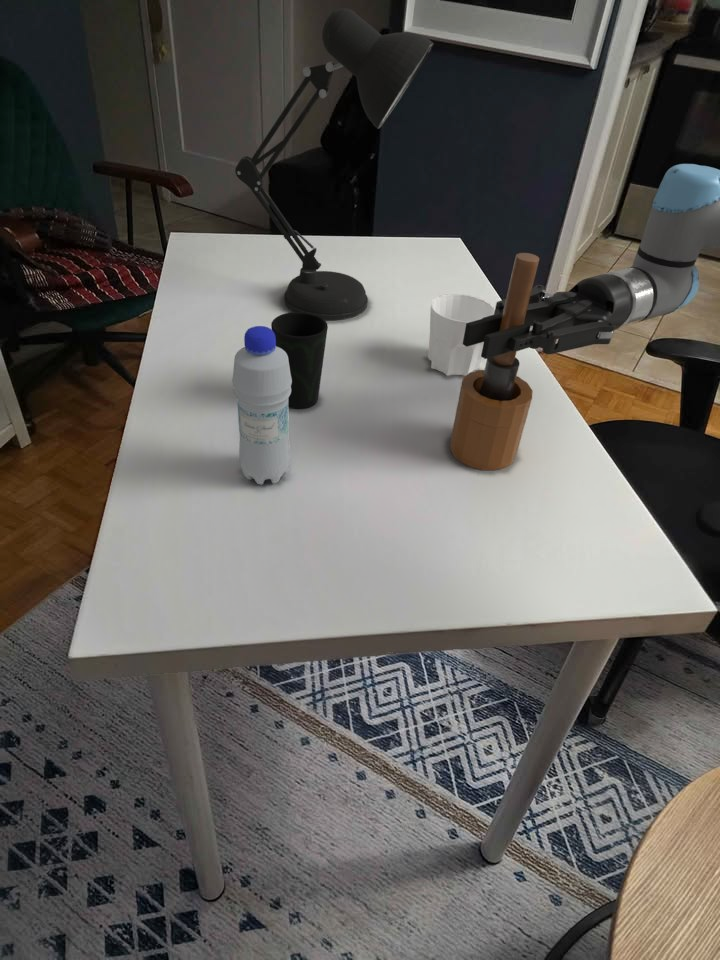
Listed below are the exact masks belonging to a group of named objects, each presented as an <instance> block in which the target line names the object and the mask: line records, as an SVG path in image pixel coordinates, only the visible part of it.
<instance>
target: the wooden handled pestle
mask: <svg viewBox="0 0 720 960" xmlns="http://www.w3.org/2000/svg"><path fill="white" fill-rule="evenodd" d="M539 263H540V257H539V256H538V255H536V254H534V253H529V252H519V253H516V254H515V258H514V262H513V266H512V270H511V276H510V280H509V284H508V289H507V292H506V298H505V299H506V302H505V307H504V311H503V316H502V320H501V325H500V329H499V331H502V330H505V329H509V328H512V327H516V326H519V325H523V324H524V319H525V315H526V311H527V307H528V303H529V299H530V295H531V291H532V289H533V288H534V287H533V286H534V283H535V278H536V275H537V271H538V267H539ZM517 352H518V351H510V352H507V353H504V354H500V355H497V356H494V357H491V358H488V359H486V361H485V365H484V367H485V368H484V370H485V371H484V375H483V380H482V385H481V389H480V395H482V396H484V397H486V398H489V399H492V400H498V401H510V399H511V395H512V391H513V387H514V384H515V380H516V376H518V372H519V368H520V365H521V363H520V360H519V358H517V357H516V356H517Z"/></svg>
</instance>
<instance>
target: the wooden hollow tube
mask: <svg viewBox="0 0 720 960" xmlns="http://www.w3.org/2000/svg"><path fill="white" fill-rule="evenodd" d="M484 371H485V369H478V370H473V371H472V372H470V373H469V374H468V375H466V376H464V377H463V378H462V380H461V383H460V390H459V395H458V400H457V405H456V409H455V416H454V420H453V426H452V431H451V437H450V442H449V449H450V452H451V454H452V455H453V457H454V458H455V459H456V460H458V461H459V462H460V463H462V464H464V465H465V466H468V467H470V468H472V469H476V470H480V471H481V470H482V471H498V470H502V469H505V468H508V467H509V466H510V465H511V464H513V462H514V461H515V459H516V456H517V453H518V450H519V447H520V443H521V441H522V440H521V439H522V436H523V432H524V430H525V429H524V428H525V426H526V420H527V418H528V414H529V411H530V408H531V403H532V401H533V389H532V388H531V386H530V385H529V383H528V382H527V381H525V380H524V379H522V378H521V377H519V376H518V375H517V376H516V380H515V384H514V387H513V391H512V395H511V399H510V401H498V400H492V399H489V398H486V397H484V396H482V395H480V389H481V385H482V380H483V375H484Z"/></svg>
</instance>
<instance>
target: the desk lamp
mask: <svg viewBox="0 0 720 960" xmlns="http://www.w3.org/2000/svg"><path fill="white" fill-rule="evenodd" d="M321 40H322V43H323V47H324V49H325V50H326V52H327V53H328V54H329V55H330V56H331V57H332V58H333V59H335V60H336V61H337V62H338V63H335V62H334V61H331V60H330V61H329V62H326V63H324V64H320V65H315V66H310V65H308V66H305V67H304V68H303V69H302V74H303V76H304V78H303V80H302V81H301V83H300V84H299V86H298V88H297V89H296V90H295V92H294V94H293V95H292V96H291V98H290V99H289V101H288V103H287V104H286V106H285V108H283V111H282V112H280V115H279V116H278V118H277V119H276V121H275V122H274V123H273V125H272V127H271V128H270V129H269V132H268V133H267V134H266V135H265V138H264V139H263V140H262V142H261V143H260V145H259V147H258V148H257V149H256V151H255V152H254V154H253V156H248V155H247V156H243V157H241V159H240V160H239V161H238V163H237V164H236V166H235V170H234V171H235V175H236V177H237V178H238V179H239V180H240V181H241V182H242V183H243V184H244V185H246V186H247V187H248V188H249V189H250V190H251V192H252V193H253V194H254V196H255V197H256V199H257V200H258V201H259V203H260V204H261V206H262V208H263V209H264V210H265V211H266V213H267V214H268V215H269V217H270V219H271V220H272V222H274V224H275V225H276V227H277V228H278V230H279V231H280V232H281V234H282V236H283V238H284V239H285V240H286V241H287V242H288V244H289V245H290V247H291V248H292V250H293V251H294V253H295V254H296V255H297V257H298V259H300V261H301V266H302V267H301V268H300V270H299V275H297V276H295V277H293V278H292V279H291V280H290V282H289V283H288V285H287V288H286V290H285V292H284V299H283V300H284V301H283V302H284V304H285V306H286V307H287V309H288V310H289V311H290V312H306V313H311V314H314V315H317V316H319V317H321V318H323V319H324V320H325V321H343V320H348V319H352V318H355V317H357V316H359V315H361V314H363V313H364V312H365V311H366V310H367V308H368V305H369V302H368V301H369V299H368V298H369V297H368V295H367V293H366V289H365V287H364V285H363V283H362V282H361V281H360V280H358V279H356V278H355V277H353V276H351V275H348V274H345V273H342V272H337V271H328V270H319V269H320V268H321V267H322V263H321V262H319V261H318V259H317V258H316V257H315V256H316V253H317V249H318V248H317V247H315V246H314V245H313V244H311V242H309V241H308V240H307V239H306V237H304V236H303V235H302V234H300V232H299V231H297V230H295V229H293V228H292V226H291V225H290V223H289V221H288V220H287V219H286V217H285V216H284V214H283V213H282V212H281V211H280V209H279V208H278V206H277V205H276V203H275V201H273V199H272V198H271V196H270V194H269V193H268V192H267V190H266V189H265V187H264V180H263V179H264V178H265V176H266V175H267V173H268V172H269V171H270V169H271V168H272V166H273V165H274V163H275V162H276V161H277V159H278V158H279V156H280V155H281V153H282V152H283V150H284V149H285V147H286V146H287V145H288V143H289V142H290V140H291V139H292V137H293V136H294V135H295V133H296V132H297V130H298V129H299V127H300V126H301V125H302V123H303V121H304V120H305V119H306V117H307V116H308V114H309V113H310V112H311V110H312V109H313V107H314V106H315V104H316V102H317V101H318V99H319V98H321V99H325V98H326V97H328V96H329V88H330V85H331V80H332V77H333V74H334V73H333V72H334V71H336V70H338V69H341V68H343V67H344V68H345V69H346V70H347V71H348V72H349V73H351V74H352V75H353V76H354V77H355V78H356V79H355V80H356V84H357V91H358V95H359V99H360V103H361V107H362V109H363V110H364V113H365V115H366V116H367V118H368V120H369V121H370V122H371V123H372V125H373V126H374V127H375V128H376V129H377V130H380V128H381V127H383V124H384V123H385V122H386V120H387V119H388V118H389V117H390V115H391V113H392V112H393V111H394V109H395V108H396V106H397V104H398V103H399V102H400V100H401V99H402V97H403V96H404V94H405V92H406V91H407V89H408V87H409V86H410V85H411V83H412V81H413V80H414V78H415V77H416V75H417V73H418V72H419V70H420V69H421V67H422V65H423V64H424V62H425V60H426V59H427V58H428V55H429V54H430V52H431V50H432V48H433V46H434V42H433V41H432V40H430V39H429V38H427V37H425V36H423V35H421V34H418V33H414V32H408V31H406V32H393V33H387V34H386V33H385V34H381V33H380V32H379V31H377V30H376V28H374V27H373V26H372V25H370V24H369V23H368V22H366V21H365V20H364V19H363V18H362V17H361V16H359V15H358V14H357V13H356V12H355V11H353V10H352V9H349V8H346V7H344V8H343V7H342V8H337V9H335V10H333V11H332V12H331V13H330V14H328V16H327V18H326V19H325V21H324V24H323V27H322V31H321ZM309 83H311V84H312V85H313V87H314V88H315V89H316V91H315V92H314V94H313V96H312V97H311V98H310V100H309V102H308V103H307V104H306V105H305V107H304V108H303V110H302V111H301V113H300V114H299V116H298V117H297V119H296V120H295V122H293V123H294V124H293V125H292V126H291V127H290V129H289V131H288V132H287V134H286V135H285V137H284V138H283V139H282V140H281V141H280V142H278V143H277V144H276V145H274V146H273V147H272V148H270V149H268V151H266V152H265V153H263V152H264V151H265V149H266V147H267V146H268V144H269V143H270V141H271V140H272V139H273V137H274V136H275V134H276V133H277V131H278V129H279V128H280V126H281V125H282V123H283V122H284V121H285V119H286V118H287V116H288V115H289V113H290V112H291V110H292V108H294V105H295V104H296V102H297V101H298V100H299V98H300V97H301V95H302V93H303V92H304V90H305V89H306V87H307V86H308V84H309ZM271 155H272V156H271ZM270 156H271V157H270ZM269 157H270V159H269V160H268V162H266V165H265V166H264V167H263V169H262V170H261V171H259V169H258V167H257V166H258V165H260V163H262V162H263V161H264V160H266V159H267V158H269ZM302 241H304V243H306V245H308V246H309V247H310V248H311V250H310V251H309V250H308V249H307V247H306V246H305V245H304V243H303V242H302Z"/></svg>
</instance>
